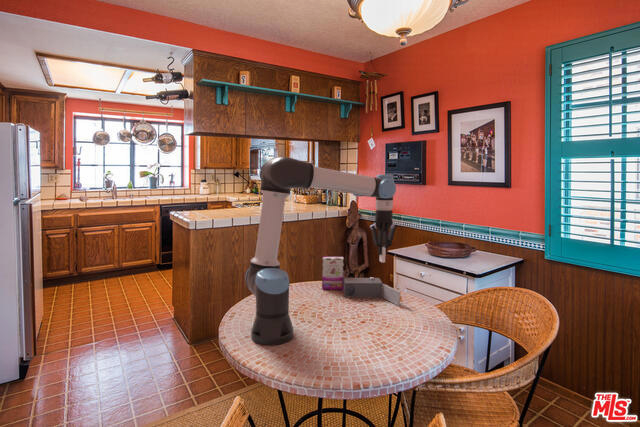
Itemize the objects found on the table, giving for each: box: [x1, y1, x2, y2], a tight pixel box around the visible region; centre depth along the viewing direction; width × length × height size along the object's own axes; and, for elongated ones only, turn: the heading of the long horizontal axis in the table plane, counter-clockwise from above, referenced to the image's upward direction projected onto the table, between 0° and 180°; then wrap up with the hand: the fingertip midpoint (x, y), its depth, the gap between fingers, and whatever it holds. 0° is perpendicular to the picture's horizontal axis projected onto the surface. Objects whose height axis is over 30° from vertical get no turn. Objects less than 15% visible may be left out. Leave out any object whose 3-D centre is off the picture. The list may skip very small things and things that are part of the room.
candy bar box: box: [321, 256, 345, 291], centre depth 184 cm, size 11×5×16 cm, turn 88°
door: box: [381, 283, 403, 307], centre depth 166 cm, size 13×2×7 cm, turn 24°
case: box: [342, 276, 384, 298], centre depth 175 cm, size 18×11×8 cm, turn 91°
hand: (382, 261), depth 161 cm, fingers closed
